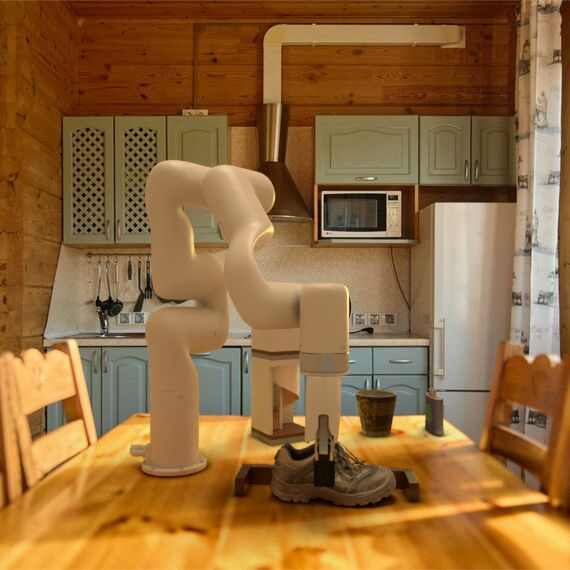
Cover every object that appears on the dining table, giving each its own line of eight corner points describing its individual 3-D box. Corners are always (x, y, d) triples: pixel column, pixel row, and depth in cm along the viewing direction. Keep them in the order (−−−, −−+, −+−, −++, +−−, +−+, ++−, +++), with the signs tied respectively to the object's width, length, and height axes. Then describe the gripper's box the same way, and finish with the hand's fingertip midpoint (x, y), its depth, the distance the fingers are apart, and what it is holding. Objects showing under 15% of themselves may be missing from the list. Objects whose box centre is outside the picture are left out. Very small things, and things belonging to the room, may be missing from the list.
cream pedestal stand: (271, 445, 122) (271, 291, 123) (251, 435, 132) (251, 291, 133) (314, 439, 128) (313, 291, 129) (291, 429, 137) (291, 292, 138)
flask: (445, 436, 131) (444, 391, 131) (433, 436, 131) (432, 391, 131) (433, 427, 140) (432, 385, 140) (422, 427, 140) (421, 385, 140)
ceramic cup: (367, 427, 140) (367, 388, 140) (403, 432, 134) (403, 392, 134) (342, 437, 130) (342, 395, 130) (380, 444, 124) (380, 400, 124)
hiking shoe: (402, 498, 84) (389, 422, 90) (268, 510, 85) (265, 434, 91) (397, 508, 92) (386, 438, 98) (275, 519, 93) (271, 449, 99)
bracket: (234, 495, 91) (234, 477, 91) (242, 480, 99) (242, 463, 99) (419, 501, 88) (419, 483, 89) (412, 485, 96) (412, 468, 96)
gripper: (302, 358, 90) (302, 469, 90) (296, 370, 75) (295, 503, 75) (348, 358, 89) (348, 470, 89) (350, 370, 75) (350, 505, 74)
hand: (324, 485), depth 82 cm, fingers closed
